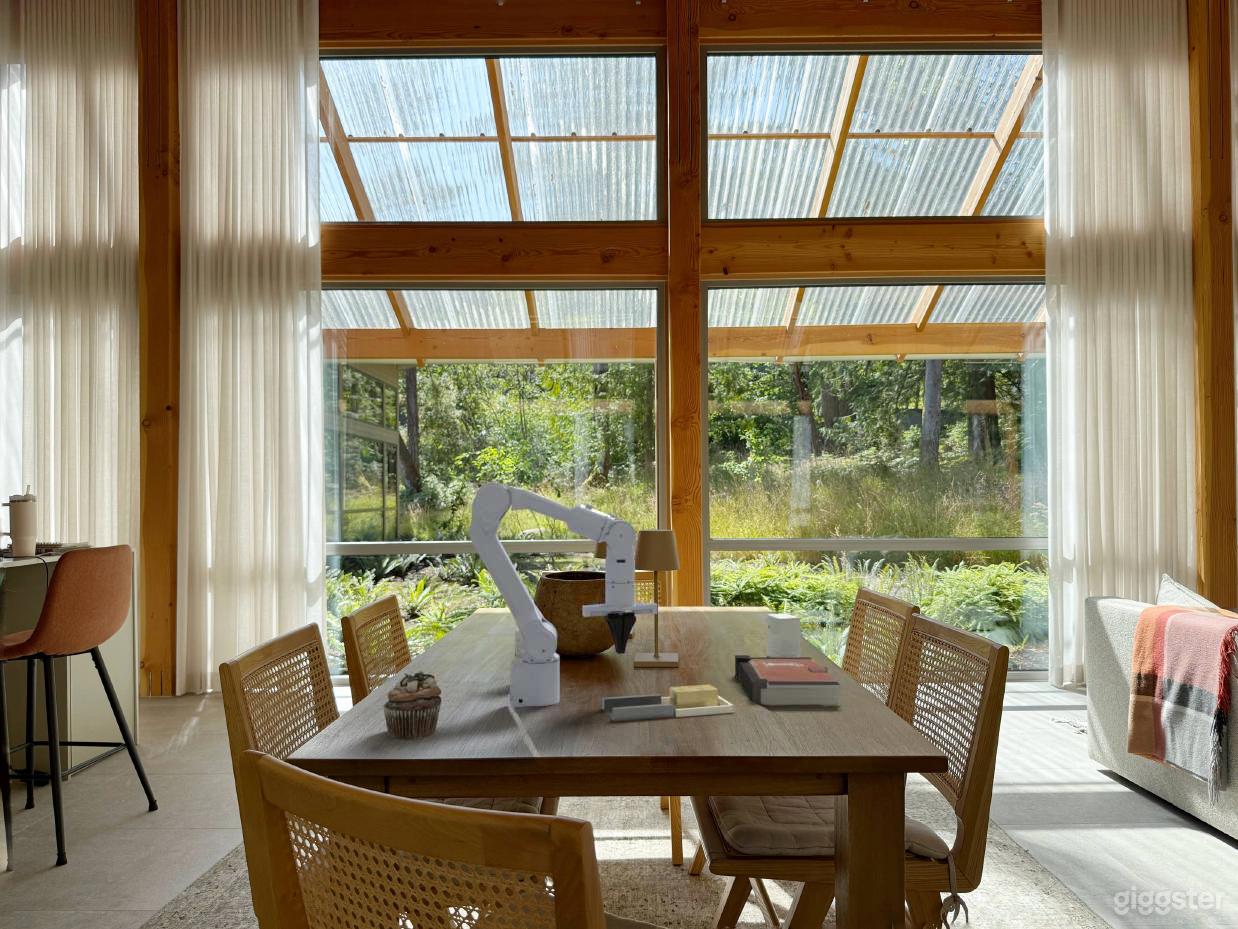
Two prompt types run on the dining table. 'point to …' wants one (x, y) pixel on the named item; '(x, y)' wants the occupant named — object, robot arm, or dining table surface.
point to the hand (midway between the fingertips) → (620, 652)
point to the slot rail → (637, 707)
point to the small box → (783, 635)
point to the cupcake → (413, 707)
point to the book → (786, 681)
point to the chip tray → (702, 708)
